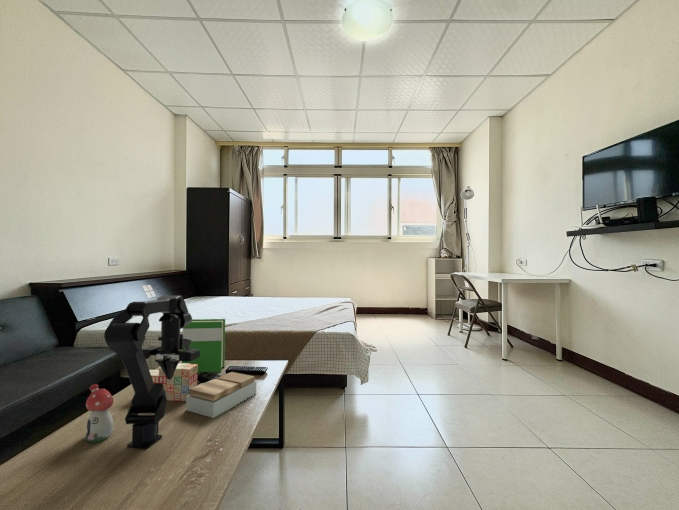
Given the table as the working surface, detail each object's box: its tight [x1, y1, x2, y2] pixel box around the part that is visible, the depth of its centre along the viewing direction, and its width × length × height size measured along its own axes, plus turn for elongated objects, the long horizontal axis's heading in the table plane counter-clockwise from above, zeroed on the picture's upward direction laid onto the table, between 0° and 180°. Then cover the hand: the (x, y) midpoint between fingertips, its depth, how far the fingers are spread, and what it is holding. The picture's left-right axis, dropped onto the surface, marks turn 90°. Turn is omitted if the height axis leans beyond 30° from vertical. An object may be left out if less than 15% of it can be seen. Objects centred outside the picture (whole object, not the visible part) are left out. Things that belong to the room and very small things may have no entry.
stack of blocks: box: [149, 362, 199, 402], centre depth 125 cm, size 21×6×12 cm, turn 85°
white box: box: [185, 371, 257, 419], centre depth 121 cm, size 22×13×7 cm, turn 155°
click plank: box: [189, 378, 239, 401], centre depth 117 cm, size 12×12×2 cm
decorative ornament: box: [84, 383, 114, 444], centre depth 97 cm, size 9×6×15 cm
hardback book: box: [181, 318, 226, 374], centre depth 156 cm, size 18×7×24 cm, turn 97°
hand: (169, 379), depth 108 cm, fingers closed
